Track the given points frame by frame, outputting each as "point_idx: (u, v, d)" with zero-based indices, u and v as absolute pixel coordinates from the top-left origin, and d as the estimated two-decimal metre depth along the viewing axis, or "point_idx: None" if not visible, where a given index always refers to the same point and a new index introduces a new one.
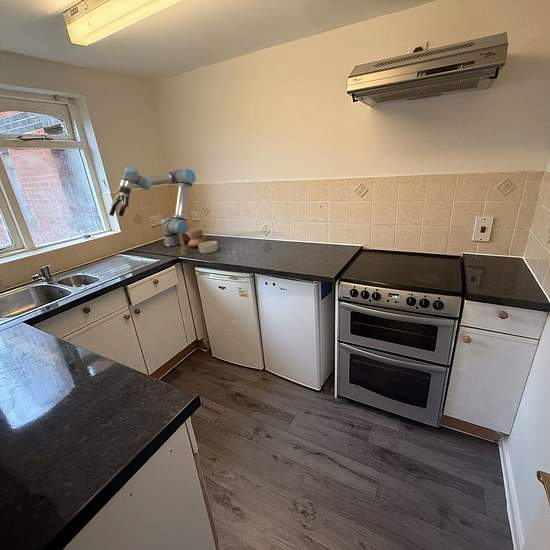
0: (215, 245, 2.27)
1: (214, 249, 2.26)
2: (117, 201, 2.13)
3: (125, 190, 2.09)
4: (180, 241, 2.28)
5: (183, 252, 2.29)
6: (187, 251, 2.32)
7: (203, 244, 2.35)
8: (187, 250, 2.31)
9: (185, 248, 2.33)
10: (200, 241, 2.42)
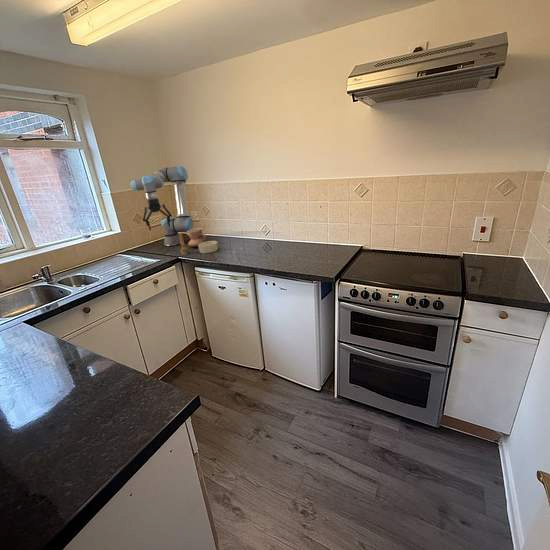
0: (215, 245, 2.27)
1: (214, 249, 2.26)
2: (150, 214, 2.12)
3: (158, 201, 2.12)
4: (180, 241, 2.28)
5: (183, 252, 2.29)
6: (187, 251, 2.32)
7: (203, 244, 2.35)
8: (187, 250, 2.31)
9: (185, 248, 2.33)
10: (200, 241, 2.42)
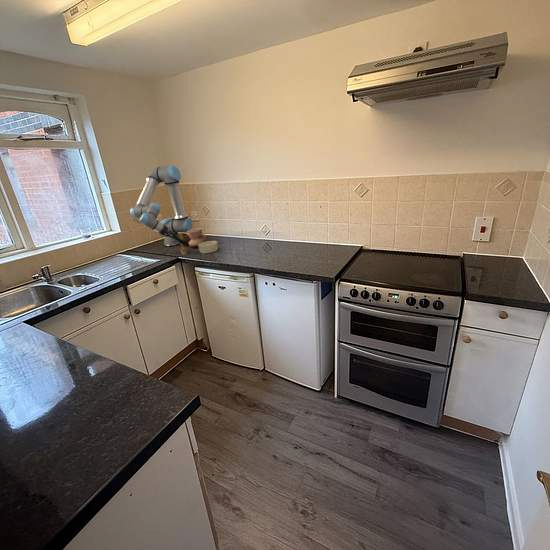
0: (215, 245, 2.27)
1: (214, 249, 2.26)
2: None
3: (164, 232, 2.17)
4: None
5: (183, 252, 2.29)
6: (187, 251, 2.32)
7: (203, 244, 2.35)
8: (187, 250, 2.31)
9: (185, 248, 2.33)
10: (200, 241, 2.42)
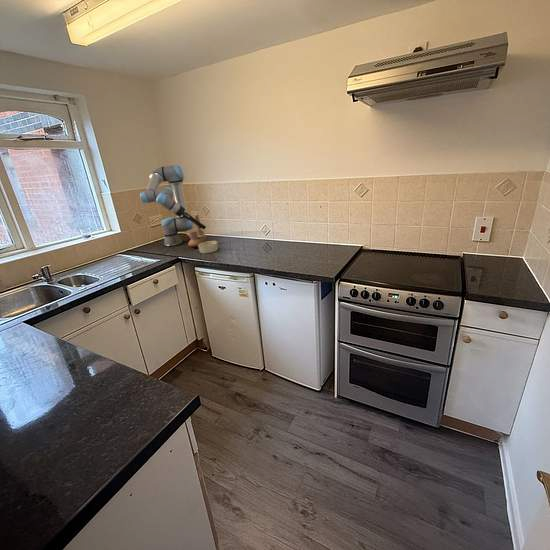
0: (215, 245, 2.27)
1: (214, 249, 2.26)
2: None
3: (181, 213, 2.12)
4: None
5: (199, 234, 2.24)
6: (203, 234, 2.26)
7: (203, 244, 2.35)
8: (203, 232, 2.26)
9: (201, 231, 2.27)
10: (200, 241, 2.42)
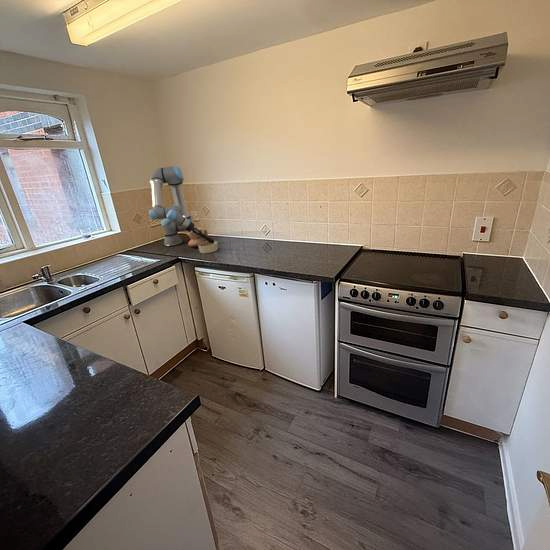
0: (215, 245, 2.27)
1: (214, 249, 2.26)
2: None
3: (190, 229, 2.16)
4: None
5: None
6: None
7: (203, 244, 2.35)
8: None
9: (210, 244, 2.31)
10: (200, 241, 2.42)
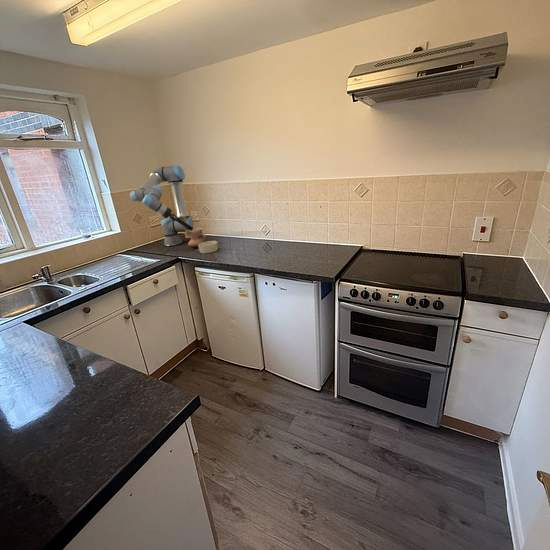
0: (215, 245, 2.27)
1: (214, 249, 2.26)
2: None
3: (167, 214, 2.13)
4: None
5: (187, 235, 2.25)
6: (191, 234, 2.27)
7: (203, 244, 2.35)
8: (191, 233, 2.27)
9: (189, 231, 2.28)
10: (200, 241, 2.42)
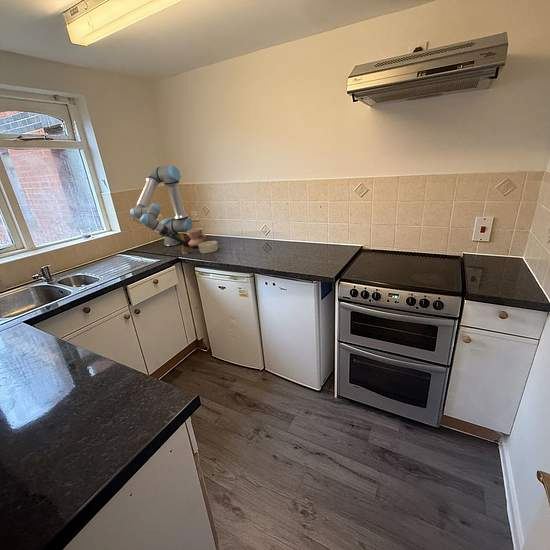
0: (215, 245, 2.27)
1: (214, 249, 2.26)
2: None
3: (164, 233, 2.17)
4: None
5: (184, 252, 2.30)
6: (188, 251, 2.32)
7: (203, 244, 2.35)
8: (188, 250, 2.31)
9: (186, 248, 2.33)
10: (200, 241, 2.42)
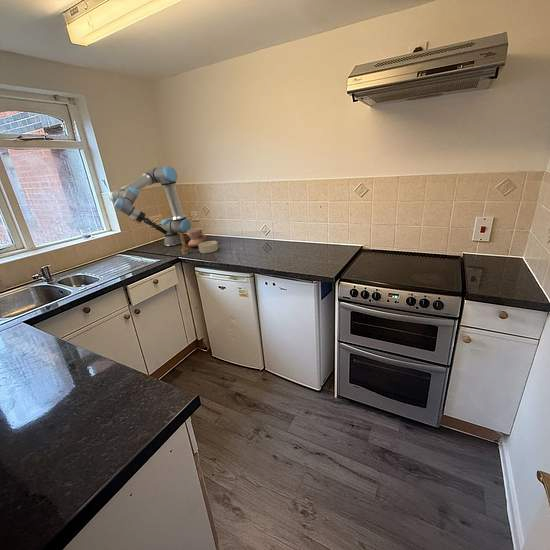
0: (215, 245, 2.27)
1: (214, 249, 2.26)
2: None
3: (141, 219, 2.07)
4: (181, 241, 2.28)
5: (184, 252, 2.30)
6: (188, 251, 2.32)
7: (203, 244, 2.35)
8: (188, 250, 2.31)
9: (186, 248, 2.33)
10: (200, 241, 2.42)
